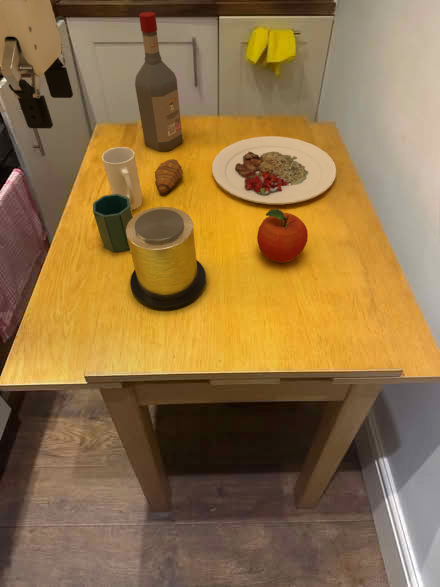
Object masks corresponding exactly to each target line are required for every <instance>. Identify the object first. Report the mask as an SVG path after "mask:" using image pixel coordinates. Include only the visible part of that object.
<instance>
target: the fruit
mask: <svg viewBox="0 0 440 587" xmlns="http://www.w3.org/2000/svg"><path fill="white" fill-rule="evenodd" d="M265 216H267V217H266V218H264V219H263V220H262V222H261V223H260V225H259V227H258V230H257V236H256V242H257V246H258V249H259V251H260V253H261V254H262V255H263V256H264V257H265V258H266V259H267V260H269V261H271V262H274V263H279V264H280V263H282V264H283V263H287V262H291V261H293V260H295V259H296V258H298V257H299V256H300V255H301V254H302V253H303V251H304V250H305V248H306V246H307V243H308V238H309V237H308V236H309V235H308V228H307V226H306V224H305V223H304V222H303V220H301V218H299V217H298V216H296V215H295V214H292V213H289V212H283V210H280V209H279V208H272V209H270V210H269V211H267V212H266V213H265Z"/></svg>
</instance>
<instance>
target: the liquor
mask: <svg viewBox="0 0 440 587" xmlns="http://www.w3.org/2000/svg"><path fill="white" fill-rule="evenodd" d="M138 16H139V25H140V32H141V34H142V35H141V36H142V40H143V49H144V63H143V64H142V65H141V68H140V69H139V71H138V72H137V73H136V75H135V80H134V88H135V93H136V98H137V104H138V111H139V112H138V113H139V117H140V124H141V129H142V135H143V141H144V144H145V146H146V147H148V148H150V149H153V150H155V151H157V152H160V153H161V152H170V151H171V150H174V148H176V147H178V146H180V145H181V144H182V143H183V131H182V120H181V111H180V101H179V99H180V98H179V90H178V89H179V88H178V79H177V76H176V74H175V72H174V71H173V70H172V69H171V68H170V67H169V66H168V65H167V64H166V63H165V62H164V61H163V60H162V56H161V54H160V47H159V46H160V44H159V38H158V32H157V31H158V25H157V17H156V13H155V12H153V11H144V12H141V13H139V14H138Z"/></svg>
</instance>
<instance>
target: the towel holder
mask: <svg viewBox="0 0 440 587" xmlns="http://www.w3.org/2000/svg"><path fill="white" fill-rule="evenodd" d="M194 229H195V228H194V223H193V219H192V217H191V216H190V215H189V214H188V213H187V212H185V211H184V210H182V209H179V208H176V207H170V206H156V207H151V208H148V209H144V210H142V211H140V212H138V213H137V214H135V215H133V218H132V219H131V220H130V221H129V223H128V225H127V227H126V235H127V239H128V243H129V247H130V250H129V251H130V255H131V258H132V263H133V268H134V269H133V272H132V274H131V276H130V289H131V293H132V295H133V297H134V299H135V300H136V301H137V302H138V303H139V304H141V305H142V306H143V307H145V308H147V309H151V310H155V311H160V312H170V311H177V310H181V309H184V308H185V307H187V306H190V305H192V304H193V303H195V302H196V301H197V300H198V299H199V298H200V297H201V296H202V294H203V292H204V291H205V289H206V286H207V275H206V270H205V267H204V265H203V264H201V262H200V261H199V260H198V259H197V252H196V250H197V249H196V241H195V240H196V239H195V230H194Z"/></svg>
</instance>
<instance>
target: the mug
mask: <svg viewBox="0 0 440 587" xmlns="http://www.w3.org/2000/svg"><path fill="white" fill-rule="evenodd" d="M101 159H102V164H103V167H104V171H105V174H106V178H107V181H108V185H109V189H110V191H111V195H112V194H120V195H123V196H125V197H128V198H129V200H130V204H131V209H132V211H134V210H137V209H138V208H140V207H141V206H142V204H143V195H142V189H141V188H142V187H141V184H140V177H139V172H138V165H137V158H136V154H135V151H134V150H133V149H132V148H131V147H127V146H116V147H111V148H108V149H107V150H105V151H104V152H103V153H102V154H101Z"/></svg>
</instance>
